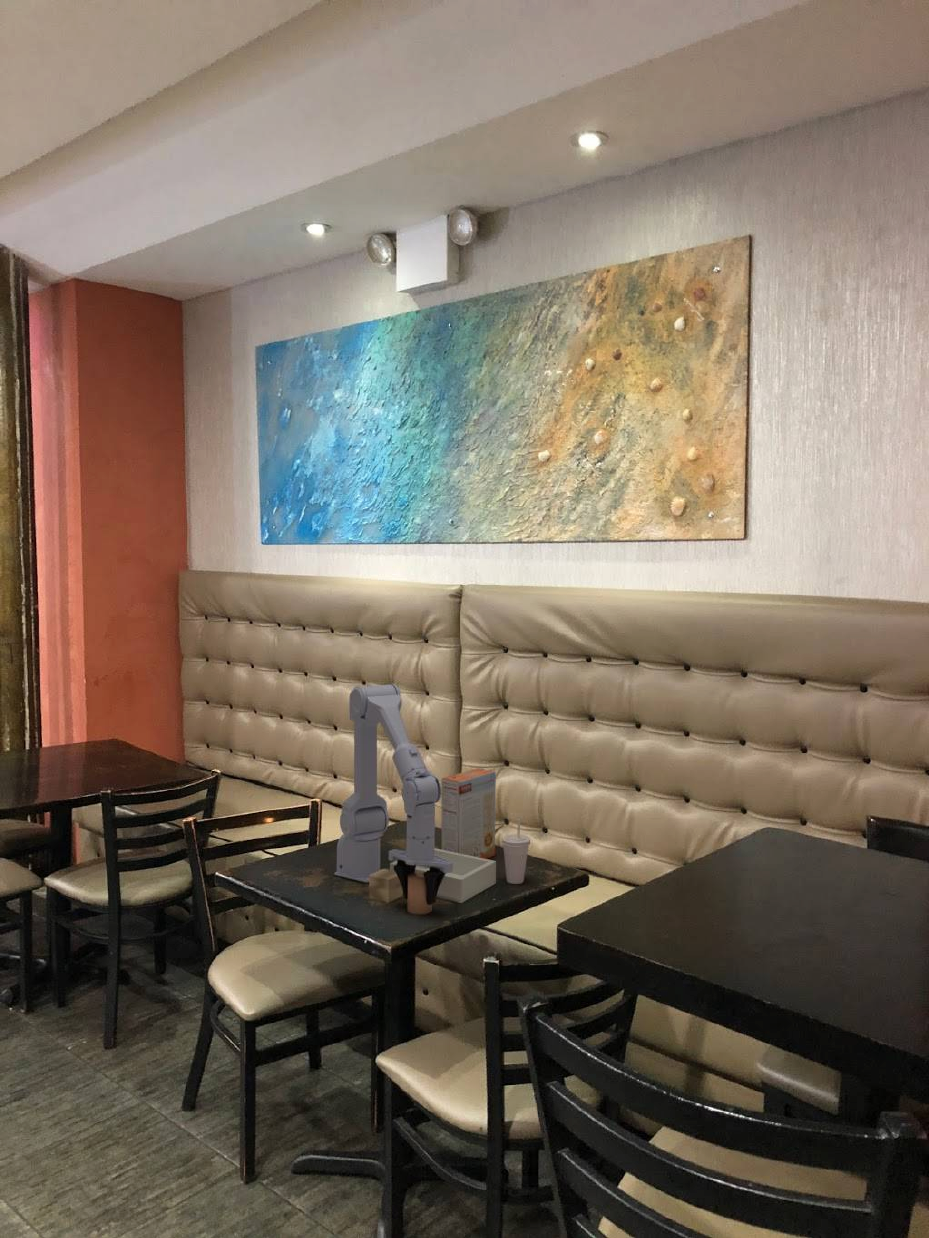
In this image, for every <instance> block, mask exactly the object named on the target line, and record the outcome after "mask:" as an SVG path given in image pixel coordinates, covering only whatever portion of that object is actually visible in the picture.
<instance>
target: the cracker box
mask: <svg viewBox="0 0 929 1238" xmlns="http://www.w3.org/2000/svg"><path fill="white" fill-rule="evenodd" d="M496 774H497V773H496V771H495V770H491V769H490V770H489V769H486V768H479V767H478V768H477V767H476V768H474V769H470V770H467V771H464V772H460V773H456V774H453V775H449V776H446V777H442V778H441V850H446V851H450V852H455V853H460V854H464V855H469V856H474V857H479V858H483V859H489V858H491V857H494V856H495V855H496V778H497V777H496Z"/></svg>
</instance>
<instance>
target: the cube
mask: <svg viewBox="0 0 929 1238" xmlns="http://www.w3.org/2000/svg"><path fill="white" fill-rule="evenodd" d="M368 883H369V886H368V887H369V888H368V892H369V893H368V894H369V895H368V899H372V900H375V901H380V902H383V903H387V904H389V903H391V902H393V901H396V900H397V899H398V898H401V897H403V890H402V886H401V883H400V880H399V878H398V876H397V874H396V872H395V871H391V870H390V869H387V868H382V870H380V871H378V872H375V873H373V874H371V875H369V882H368Z"/></svg>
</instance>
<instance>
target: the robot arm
mask: <svg viewBox="0 0 929 1238" xmlns="http://www.w3.org/2000/svg"><path fill="white" fill-rule="evenodd" d="M402 701H403V700H402V695H401V691H400V689H399V688H398V686H397V685H396V684H395V683H389V684H379V685H377V684H376V685H367V686H366V685H365V686H361V685H357V686H355V687H354V688H353V690H351V692H350V693H349V720H350V721H352V722H353V763H354V764H353V793H352V794H351V795H350V796H349V797H347V798H346V799H345V800H344V801H343V802H342V806H341V807H342V808H341V814H340V817H339V825H340V831H341V832H342V835H341V836H340V837H339V838H338V841H337V843H336V844H337V846H336V871H335V872H334V875H335V876H338V877H343V878H346V879H349V880H354V881H357V882H358V881H359V882H361V883H365V884H368V883H369V875H371V874H373V873H375V872H378V871H380V870H382V869H383V868H382V869H381V837H383V836H384V832H386V831H387V829H388V827H389V823H390V818H389V813H388V807H387V801H386V799H384V798H383V797H382V796H381V795H379V794H378V756H377V755H378V725H379V723H380V725H381V727H382V730H383V731H384V733H385V735H386V736H387V739H388V741H389V742H390V744H391V747H392V748H393V750H394V751H393V753H392V760H393V763H394V765H395V768H396V771H397V773H398V776H399V778H400V780H401V782H402V783H401V784H402V788H401V797H402V801H403V805H404V806H403V807H404V808H403V809H404V813H405V814H406V842H405V843H406V844H405V845H406V847H405V848H406V849H396V848H393V849H391V850H388V861H391V862H394V861H397V865H394V871H395V872H396V874H397V876H398V878H399V880H400V883H401V886H402V895H403V898H404V899H405V900H408V875H409V874H411V873H415V869H416V865H418V866H422V867H427V868H430V870H428V871H426V872H424V873H423V875H424V878H425V883H426V901H427V905H431V904H432V905H433V904H434V903H436V899H437V897H436V896H437V892H438V889H439V886H440V884H441V882H442V880H443V878H444V876H445V874H446V873H447V874H448V873H450V872H451V871H453V862H452V861H448V860H446V859H443V858H441V857H439V856H436V855H434V848H436V847H435V845H436V844H435V839H436V837H435V835H436V833H435V831H436V803H438V802H439V801H440V799H441V798H442V785H441V784H440V783H441V782H440V780H439V778H438V776H436V775H435V774H434V773H433V772H432V771H431V770H429V769H428V768H427V766H426V764H425V762H424V761H425V760H424V759H423V757H422V755H421V752H420V750H419V747H418V746H417V745H415V744H412V743H411V742H410V738H409V736H408V733H407V729H406V727H405V723H404V720H403V717H402V714H401V709H402V704H403V702H402Z"/></svg>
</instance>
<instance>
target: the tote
mask: <svg viewBox="0 0 929 1238" xmlns="http://www.w3.org/2000/svg"><path fill="white" fill-rule="evenodd" d="M434 855H436V856H439V857H441V858H443V859H446V860H448V861H452V862H453V871H451V872H450V873H448V874H447V873H446V874H445V876H444V878H443V880H442V882H441V884H440V886H439V889H438V892H437V896H436V898H439V899H442V900H447V901H451V902H455V903H459V904H463V903H465V902H466V901H467V900H470V899H471V898H474V896H477V895H478V894H479V893H482V892H483V891H485V890H487V889H488V888H490V887H492V886H494V885H495V884H497V873H496V872H497V860H491V859H489V858H487V859H483V858H479V857H474V856H469V855H464V854H460V853H455V852H450V851H446V850H442V848H441V849H440V848H436V847H434ZM394 865H397V861H396V860H394V861H391V862H390V863H389V870H391V871H394ZM428 870H430V868H427V867H422V866H418V865H416V869H415V872H426V871H428Z"/></svg>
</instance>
